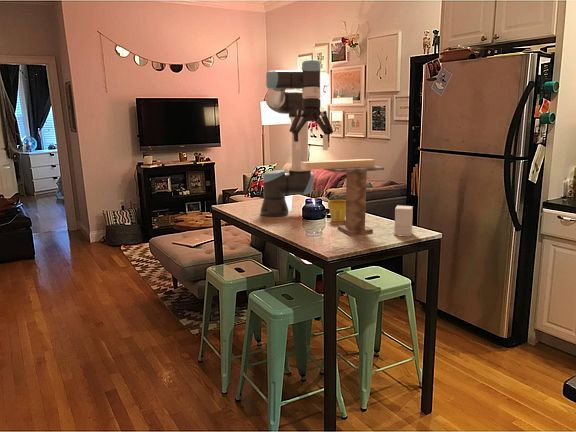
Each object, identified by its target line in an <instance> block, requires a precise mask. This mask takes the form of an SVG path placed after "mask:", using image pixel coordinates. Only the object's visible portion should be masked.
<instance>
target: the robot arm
mask: <svg viewBox="0 0 576 432" xmlns="http://www.w3.org/2000/svg"><path fill="white" fill-rule="evenodd" d="M265 83H266V84H265V85H266V88H267V89H268V91H267V93H266V95H265V101H266V105H267V106H268V108H269V109H271V111H274V112H276V113H278V114H286V115H288V118H289V119H290V120H291V126H290V128H289V132H290V133H291V166H290V167H289V169H288V172H286V170H284V169H277V170H270V171H266V172H265V173H264V174H263V176H262V177H263V179H262V180H263V181H262V183H263V201H262V203H261V207H260V215H261V216H266V217H282V216H287V215H288V214H289V207H288V205H287V201H286V195H307V194H308V195H309V194H310V193H312V190H313V187H314V186H313V185H314V177H315V176H314V172H313V171H312V170H303V169H301V162H309V122H314V123H316V124H317V125H318V127H319V128H320V130H321V131H322V133H323V135H322V151H328V150H329V143H330V135H331V134H333V133H334V130H333V127H332V125H331V123H330V122H331V121H330V120H329V117H328V113H327V112H328V111H327V110H322V111H321V99H320V98H321V62H320V61H319V60H317V59H305V60H303V61H302V64H301V70H276V69H275V70H268V71H266V74H265ZM286 89H287V90H286ZM288 89H289V90H288ZM290 89H291V90H290ZM292 89H293V90H292ZM295 89H297V90H295ZM298 89H299V90H298ZM300 89H301V90H300Z"/></svg>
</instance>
